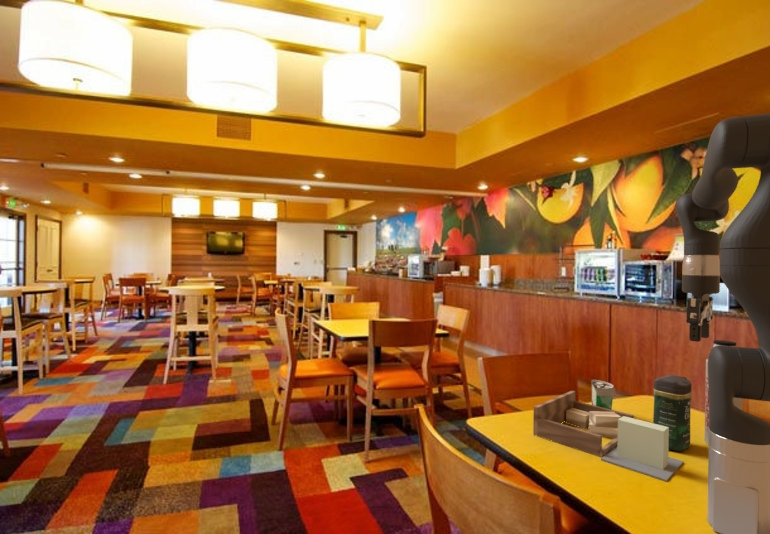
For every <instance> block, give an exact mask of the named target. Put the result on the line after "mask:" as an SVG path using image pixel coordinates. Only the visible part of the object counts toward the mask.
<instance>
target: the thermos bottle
mask: <svg viewBox="0 0 770 534" xmlns="http://www.w3.org/2000/svg"><path fill="white" fill-rule="evenodd" d="M715 346H734V347H737V342H734V341H731V340H723V339H722V340H721V339H715V340H713V347H715ZM713 347H712V348H713ZM708 353H710V351H709V352H708ZM704 389H705V394H704V395H705V396H704V397H705V398H704V399H705V401H704V403H705V404H704V442H705V443H706V444H708V445H709V384H708V358H706V359H705V388H704ZM743 400H744V399H743V398H735V397H734V398H733V404H734V405H735V406H736V407H738V408H739V409H741V410H742V411H743Z"/></svg>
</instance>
